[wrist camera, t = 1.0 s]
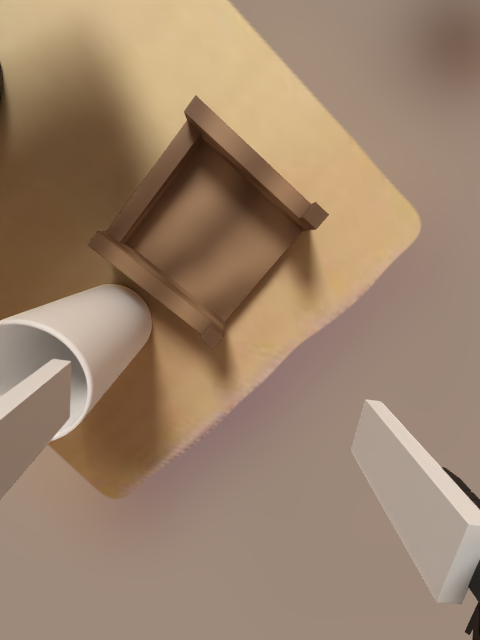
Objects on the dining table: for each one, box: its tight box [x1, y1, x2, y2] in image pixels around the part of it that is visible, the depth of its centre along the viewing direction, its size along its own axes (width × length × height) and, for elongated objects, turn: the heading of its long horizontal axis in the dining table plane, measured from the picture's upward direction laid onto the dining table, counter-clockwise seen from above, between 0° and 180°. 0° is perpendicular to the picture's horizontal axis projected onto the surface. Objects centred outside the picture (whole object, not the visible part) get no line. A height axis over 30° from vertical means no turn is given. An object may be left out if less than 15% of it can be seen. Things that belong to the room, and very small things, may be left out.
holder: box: [88, 96, 329, 349], centre depth 30 cm, size 14×15×7 cm
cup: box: [0, 284, 152, 441], centre depth 28 cm, size 8×8×16 cm
